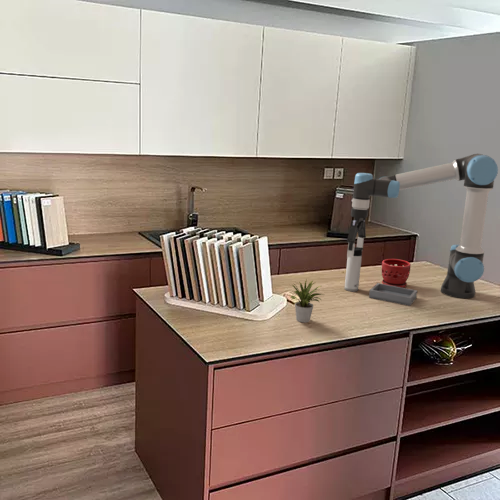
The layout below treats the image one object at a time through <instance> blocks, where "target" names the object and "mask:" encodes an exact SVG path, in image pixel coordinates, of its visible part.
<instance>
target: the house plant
mask: <svg viewBox="0 0 500 500" xmlns="http://www.w3.org/2000/svg"><path fill="white" fill-rule="evenodd" d="M307 280H308V279H307V278H306V279H305V281H304V285H303V284H302V283H301V282H300V281H299V283H298V284H299V287H300V290H299V288H298V287H297V285H296V284H297V282H296V281H295V282H294V283H293V284H291V285H290V286H291V287H292V288H294V289H295V291H294V293H295V294H296V295H297V296H298V297H296V296H295V295H291V296H290V298H289V299H291V300H297V302H295V303H294V308H295V309H294V310H295V320H296V322H299V323H309V322H310V321H311V317H312V313H313V310H314V304H313V303H312V302H313V301H316V302H318V303H320V301H321V302H322V298H320V297H317V296H325V294H322V293H317V292H318V288H320V287H322V285H319V286H316V288H314V289H313V290H311V288H312V286H313V285H315V282H314V280H311V281H310V282H309V283H308V285H307V282H308V281H307ZM295 283H296V284H295ZM310 290H311V291H310ZM319 300H320V301H319Z"/></svg>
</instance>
